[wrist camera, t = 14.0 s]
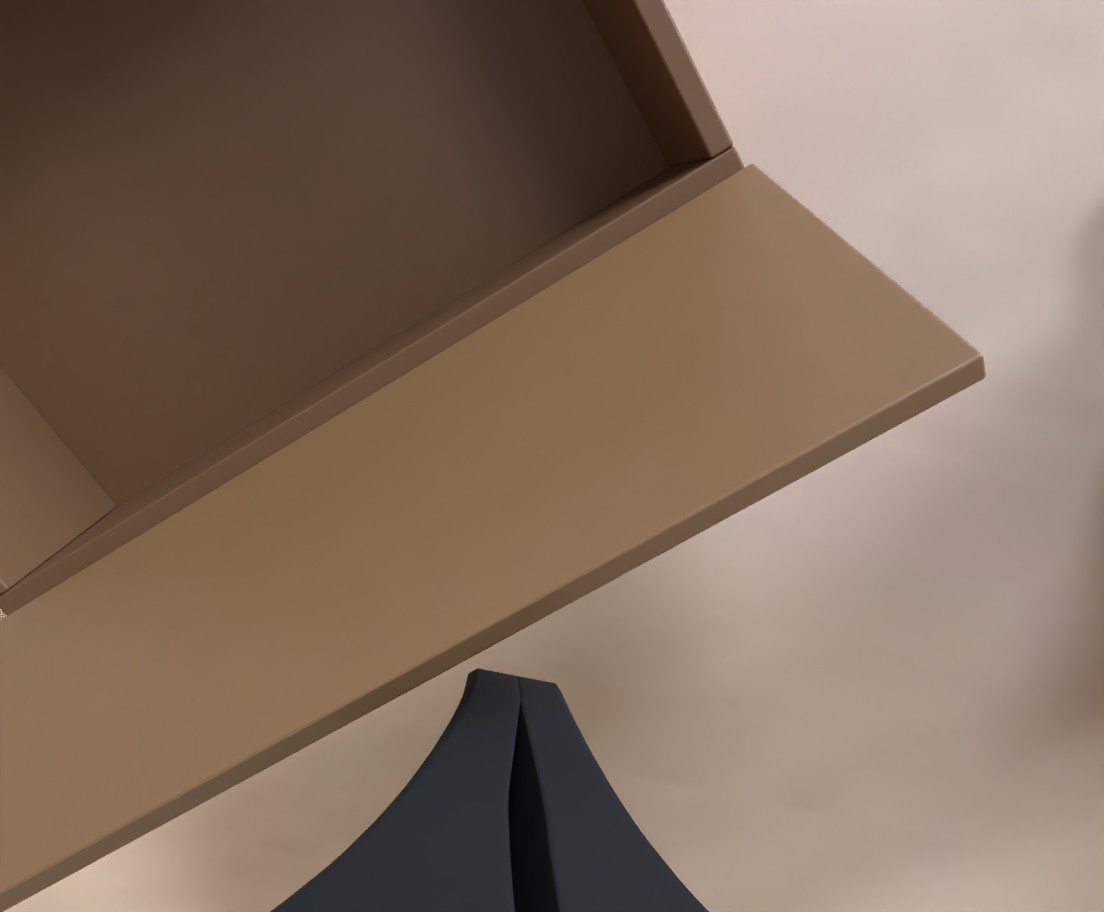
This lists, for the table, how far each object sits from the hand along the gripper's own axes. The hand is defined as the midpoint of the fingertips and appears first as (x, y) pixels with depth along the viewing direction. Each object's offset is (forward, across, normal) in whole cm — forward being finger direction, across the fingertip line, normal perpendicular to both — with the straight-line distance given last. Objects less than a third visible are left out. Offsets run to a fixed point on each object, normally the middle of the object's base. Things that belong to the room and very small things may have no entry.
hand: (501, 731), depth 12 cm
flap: (0, +3, -3) cm, 4 cm away
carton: (+7, +7, -7) cm, 13 cm away
